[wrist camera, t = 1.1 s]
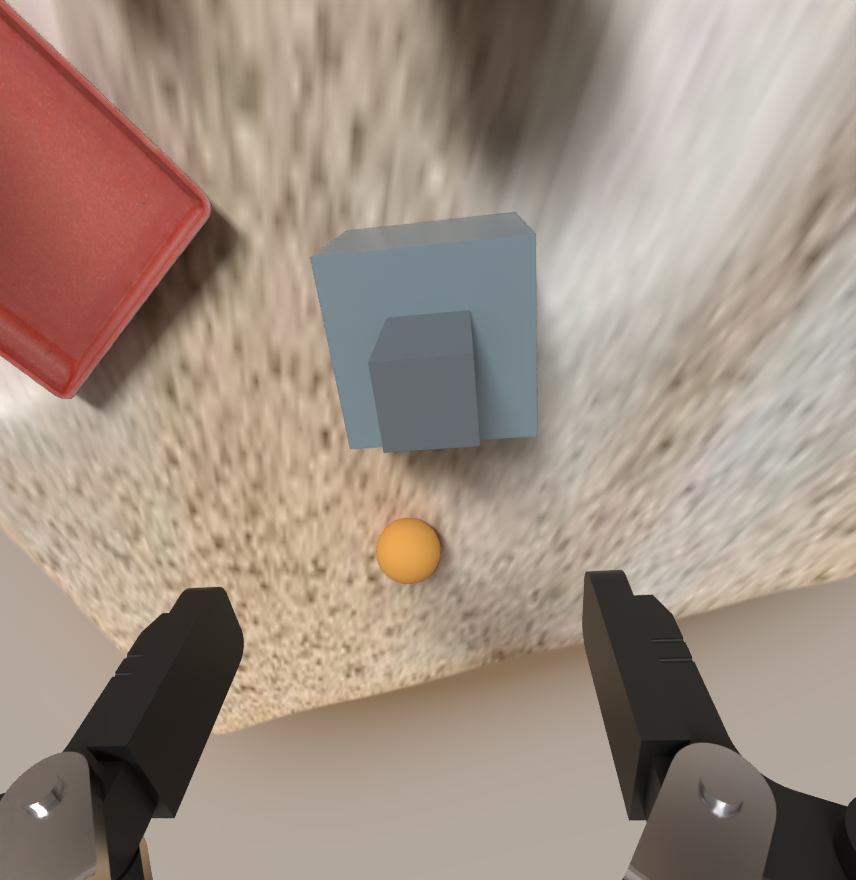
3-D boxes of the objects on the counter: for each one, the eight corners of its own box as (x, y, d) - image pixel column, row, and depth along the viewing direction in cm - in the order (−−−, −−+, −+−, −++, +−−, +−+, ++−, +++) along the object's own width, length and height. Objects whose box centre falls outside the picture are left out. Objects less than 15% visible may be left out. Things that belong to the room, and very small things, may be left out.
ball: (438, 503, 41) (436, 545, 37) (444, 551, 43) (442, 596, 39) (376, 507, 41) (366, 549, 37) (385, 554, 44) (377, 599, 40)
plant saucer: (94, 387, 38) (65, 407, 35) (-167, 190, 32) (-229, 194, 29) (239, 200, 31) (217, 206, 28) (-58, -92, 26) (-123, -122, 23)
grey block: (515, 212, 30) (559, 258, 18) (519, 373, 35) (555, 503, 22) (345, 230, 31) (268, 287, 19) (372, 385, 36) (326, 516, 23)
